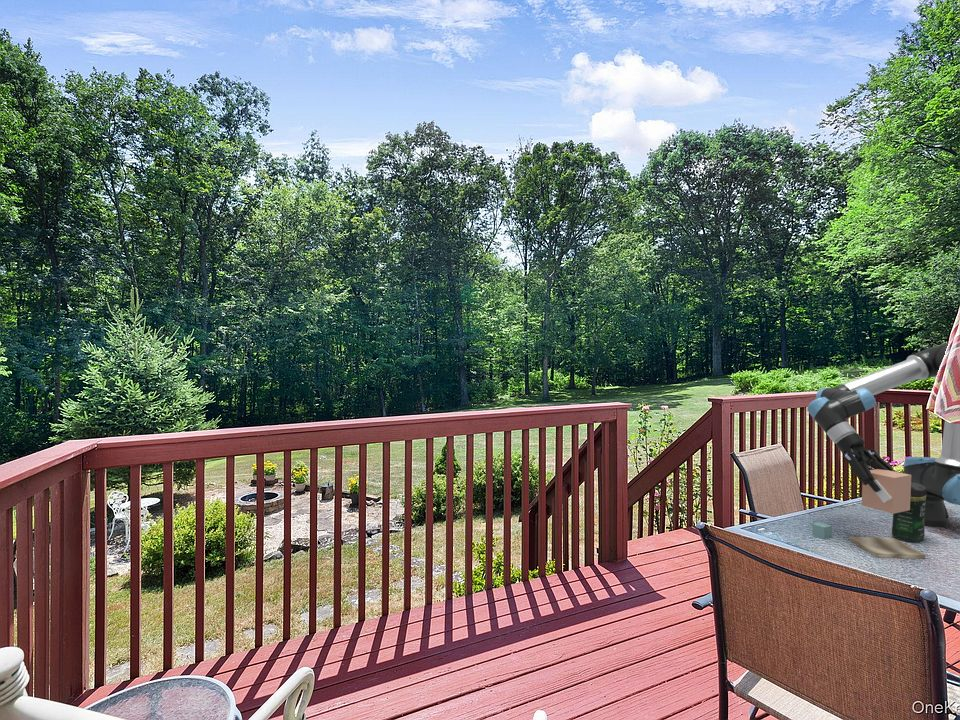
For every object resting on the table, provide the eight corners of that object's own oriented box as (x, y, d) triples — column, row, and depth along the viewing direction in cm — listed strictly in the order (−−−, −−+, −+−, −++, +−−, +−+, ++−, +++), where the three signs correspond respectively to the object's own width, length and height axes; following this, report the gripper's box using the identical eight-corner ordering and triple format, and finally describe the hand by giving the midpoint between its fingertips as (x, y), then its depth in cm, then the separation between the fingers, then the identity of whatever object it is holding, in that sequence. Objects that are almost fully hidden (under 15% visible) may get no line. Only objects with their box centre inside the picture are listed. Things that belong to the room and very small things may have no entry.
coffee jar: (917, 544, 176) (919, 487, 175) (888, 537, 183) (890, 482, 182) (928, 538, 182) (930, 483, 181) (899, 531, 188) (901, 478, 187)
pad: (894, 541, 179) (894, 538, 179) (925, 558, 165) (925, 554, 165) (848, 540, 180) (849, 536, 180) (876, 557, 166) (876, 553, 166)
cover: (878, 502, 178) (879, 468, 177) (909, 510, 170) (911, 474, 169) (861, 505, 174) (862, 471, 174) (893, 513, 166) (894, 477, 165)
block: (819, 533, 186) (820, 522, 186) (831, 537, 182) (831, 525, 182) (812, 535, 184) (812, 523, 184) (823, 539, 181) (824, 527, 181)
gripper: (857, 442, 190) (907, 500, 176) (817, 447, 180) (866, 509, 167) (874, 429, 185) (927, 488, 171) (833, 434, 175) (886, 496, 162)
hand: (897, 498), depth 169 cm, fingers closed on cover, 9 cm apart
